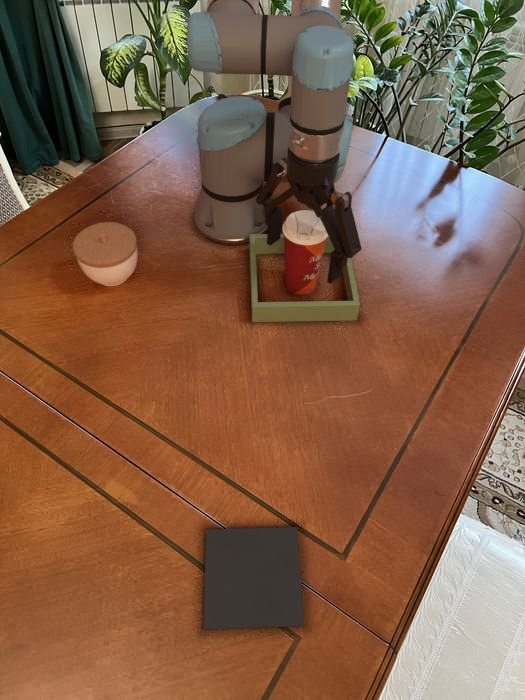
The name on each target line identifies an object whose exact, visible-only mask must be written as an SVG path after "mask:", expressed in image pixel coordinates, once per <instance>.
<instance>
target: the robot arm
mask: <svg viewBox="0 0 525 700" xmlns="http://www.w3.org/2000/svg"><path fill="white" fill-rule="evenodd" d="M259 5H260V0H207V2H206V10H203V11H199V12H193V13H191V14H190V15H189V17H188V18H187V19H188V20H187V25H186V47H187V57H188V63H189V65H190V67H191V69H193V70H194V71H196V72H200V73H201V72H203V73H211V74H212V73H213V74H216V75H261V76H263V75H265V76H283V77H284V76H286V77H287V78H288V79H287V93H286V94H285V95H284V96H283V97H282V98H280V100H279V101H278V104H277V105H278V107H277V112H276V111H273V112H272V111H267V110H266V108H265V106H264V104H263V103H262V102H261V101H260V100H258V99H254V98H253V97H251V96H246V95H245V96H243V95H240V96H239V95H238V96H229V97H228V96H227V95H225V94H224V93H219V94H217V98H218V99H219V100H216V101H215V102H213V103H212V104H209V105H208V106H207V107H206V108H205V109H203V110H202V112H201V114H200V115H199V117H198V119H197V136H196V137H197V138H196V143H197V147H198V156H199V157H198V158H199V168H200V182H201V188H200V191H199V194H198V197H197V201H196V204H195V208H194V224H195V227H196V230H198V232H199V233H200V234H201V235H202V236H203V237H204V238H206V239H208V240H210V241H212V242H215V243H218V244H222V245H228V246H229V245H230V246H233V245H235V246H236V245H245V244H250V234H267V244H268V245H270V246H271V245H272V244H273V243H275V242H276V241H278V240H279V239H280V236H281V234H282V218H283V208H281V207H280V206H279V205H282V203H284V202H286V201H287V200H289V199H290V198H292V197H293V196H294V198H295V199H296V202H297V203H299V204H302V205H305V206H306V207H307V208H308V209H310V210H312V211H314V212H315V214H316V216H317V217H318V218H320V219H321V221H322V223H323V225H324V228H325V230H326V232H327V234H328V236H329V238H330V240H331V242H332V244H333V247H334V249H335V250H334V251H333V252H332V253H330V260H329V267H328V273H327V281H326V282H327V283H328V284H330V285H332V284H333V283H334V282H335V281H337V279H339V278H340V277H341V275H342V268H343V267H345V266H346V264H347V261H348V258H351V259H352V258H353V257H354V256H356V255H357V254H358V253H359V252H361V251H362V244H361V241H360V237H359V231H358V229H357V225H356V220H355V216H354V211H353V207H352V203H353V201H352V199H353V196H352V195H353V194H352V193H351V192H350V191H346V192H344V193H341V192H339V191H337V190H336V188H335V184H336V183H337V182H338V181H339V180H341V178H342V176H343V173H344V170H345V167H346V164H347V159H348V154H349V150H350V146H351V145H350V144H351V140H352V134H353V126H354V125H353V124H354V117H353V115H350V114H349V113H346V109H347V103H348V98H349V97H348V96H349V90H350V84H351V79H352V78H351V77H352V74H353V71H354V66H355V65H354V52H355V43H354V39H353V38H352V35H350V34H349V33H347V32H346V31H345V29H344V26H343V23H342V20H341V15H342V14H341V13H342V0H291V6H290V7H291V9H290V15H285V14H283V15H281V14H261V13H259V7H260V6H259ZM281 183H283V184H284V183H285V184H286V183H288V184H289V186H290V187H289V188H288V189H287V190H285V191H283V192H282V193H281V194H279V195H278V196H276V197H275V198H272V196H273V195H274V193H275V191H276V190H277V188H278V187H279V185H280V184H281ZM325 204H326V206H325V207H323V208H322V206H324V205H325Z"/></svg>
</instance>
